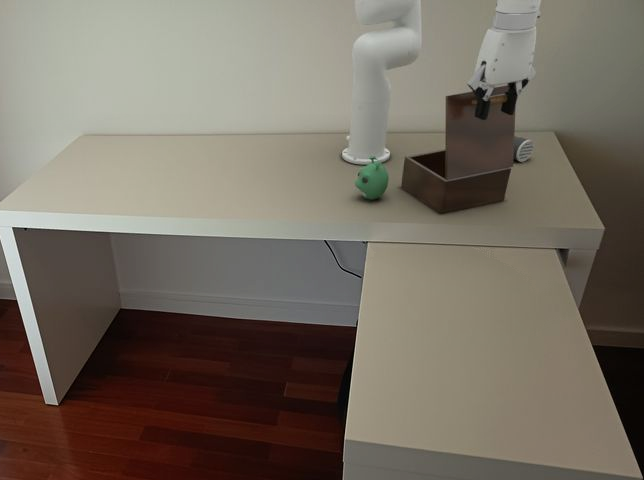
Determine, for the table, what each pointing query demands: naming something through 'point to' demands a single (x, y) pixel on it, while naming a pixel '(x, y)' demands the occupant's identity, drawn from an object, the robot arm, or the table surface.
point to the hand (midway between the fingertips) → (493, 114)
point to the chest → (450, 184)
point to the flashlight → (522, 148)
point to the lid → (477, 135)
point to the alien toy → (372, 180)
